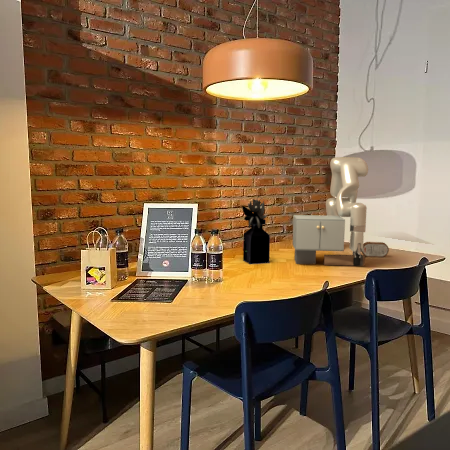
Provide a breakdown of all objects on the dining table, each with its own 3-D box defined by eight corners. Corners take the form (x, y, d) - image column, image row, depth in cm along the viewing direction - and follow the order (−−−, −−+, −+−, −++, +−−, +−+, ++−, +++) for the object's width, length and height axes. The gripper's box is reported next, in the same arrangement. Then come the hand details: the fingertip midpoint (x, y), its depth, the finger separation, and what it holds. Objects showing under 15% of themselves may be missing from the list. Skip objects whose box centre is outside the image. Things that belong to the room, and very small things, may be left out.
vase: (245, 265, 219) (246, 196, 215) (237, 260, 230) (238, 194, 226) (271, 263, 224) (273, 196, 219) (262, 259, 235) (264, 194, 230)
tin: (387, 256, 245) (388, 242, 244) (389, 257, 242) (389, 243, 241) (360, 255, 247) (361, 241, 246) (361, 257, 244) (362, 242, 242)
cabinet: (292, 258, 237) (293, 215, 234) (336, 259, 235) (338, 215, 232) (295, 266, 218) (296, 219, 215) (343, 267, 216) (345, 219, 213)
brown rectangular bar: (323, 264, 222) (324, 254, 222) (363, 264, 221) (363, 254, 220) (324, 265, 220) (324, 255, 219) (364, 265, 218) (364, 255, 218)
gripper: (346, 226, 226) (345, 261, 228) (353, 230, 210) (351, 267, 212) (361, 226, 225) (359, 261, 227) (369, 231, 209) (367, 268, 212)
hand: (355, 264), depth 220 cm, fingers closed on brown rectangular bar, 2 cm apart
